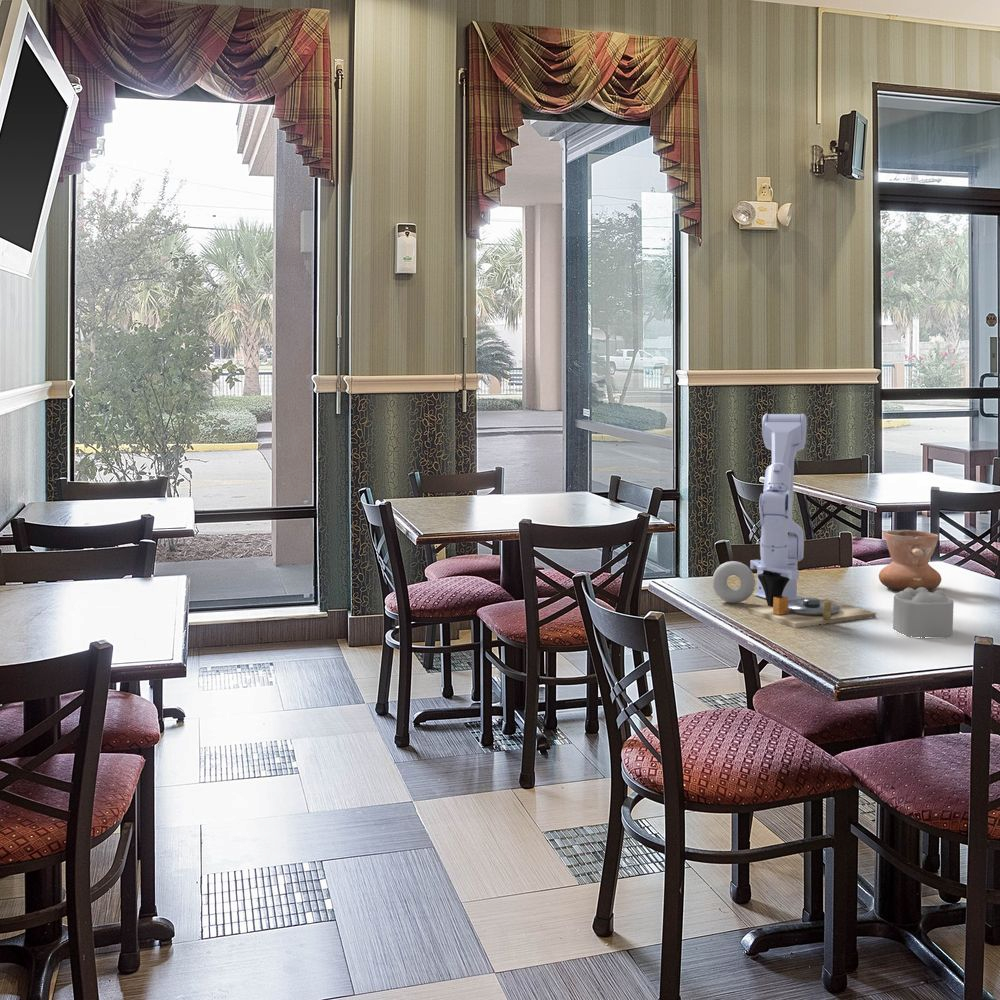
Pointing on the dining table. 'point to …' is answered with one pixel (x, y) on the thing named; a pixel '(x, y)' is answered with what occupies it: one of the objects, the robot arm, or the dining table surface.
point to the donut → (740, 571)
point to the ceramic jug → (910, 561)
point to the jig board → (808, 620)
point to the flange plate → (801, 606)
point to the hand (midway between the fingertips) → (773, 605)
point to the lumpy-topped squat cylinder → (923, 613)
